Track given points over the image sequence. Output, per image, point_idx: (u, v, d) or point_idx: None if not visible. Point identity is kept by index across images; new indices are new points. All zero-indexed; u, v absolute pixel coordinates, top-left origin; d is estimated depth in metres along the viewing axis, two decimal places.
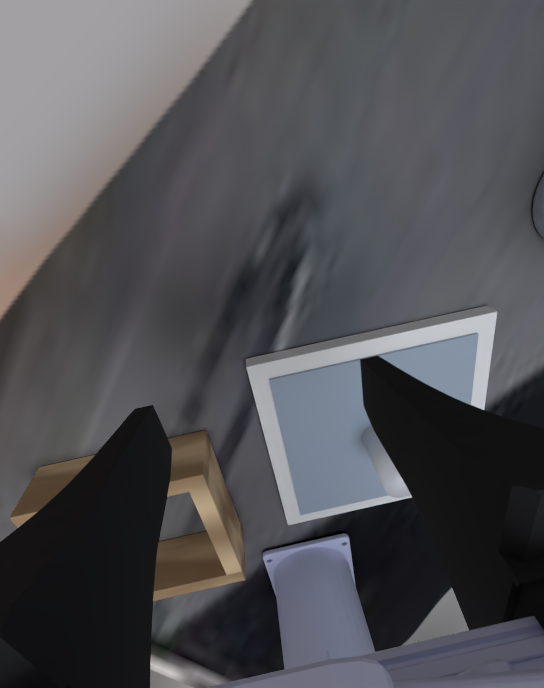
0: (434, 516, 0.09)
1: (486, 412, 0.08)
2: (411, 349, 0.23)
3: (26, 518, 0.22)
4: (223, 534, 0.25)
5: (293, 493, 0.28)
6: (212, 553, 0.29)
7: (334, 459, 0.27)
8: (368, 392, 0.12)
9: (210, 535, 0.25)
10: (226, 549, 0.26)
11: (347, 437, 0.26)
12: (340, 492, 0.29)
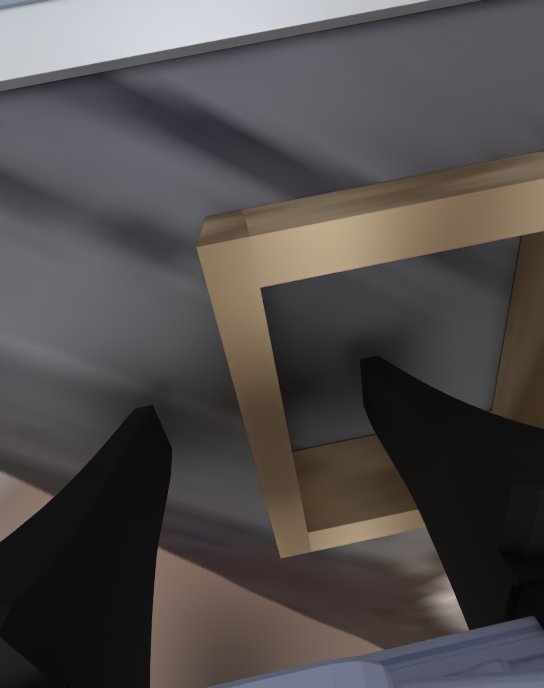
0: (434, 516, 0.09)
1: (486, 412, 0.08)
2: None
3: (286, 543, 0.13)
4: (460, 206, 0.08)
5: None
6: None
7: None
8: (368, 392, 0.12)
9: (449, 245, 0.09)
10: (533, 201, 0.08)
11: None
12: None
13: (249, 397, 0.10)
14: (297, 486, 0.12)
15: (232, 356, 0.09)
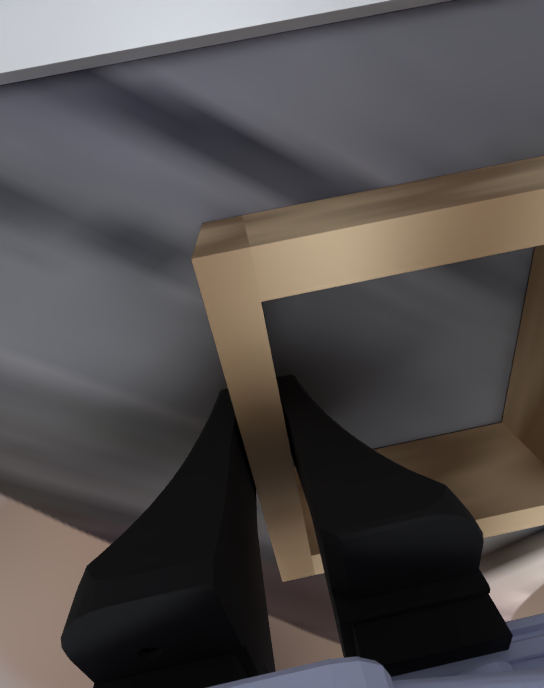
0: (318, 542, 0.09)
1: (356, 441, 0.08)
2: None
3: (288, 566, 0.13)
4: (479, 214, 0.07)
5: None
6: None
7: None
8: None
9: (466, 254, 0.08)
10: None
11: None
12: None
13: (249, 418, 0.09)
14: (300, 509, 0.11)
15: (231, 375, 0.09)
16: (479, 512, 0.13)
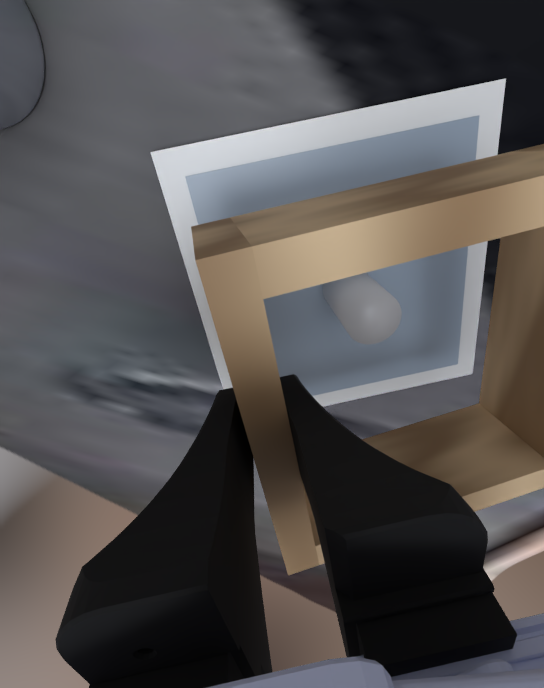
0: (320, 542, 0.09)
1: (359, 441, 0.08)
2: None
3: (294, 559, 0.13)
4: (460, 207, 0.08)
5: (418, 373, 0.23)
6: None
7: None
8: None
9: (450, 246, 0.08)
10: (527, 200, 0.08)
11: (339, 325, 0.21)
12: (434, 320, 0.21)
13: (253, 414, 0.09)
14: (304, 500, 0.12)
15: (235, 373, 0.09)
16: (467, 488, 0.14)
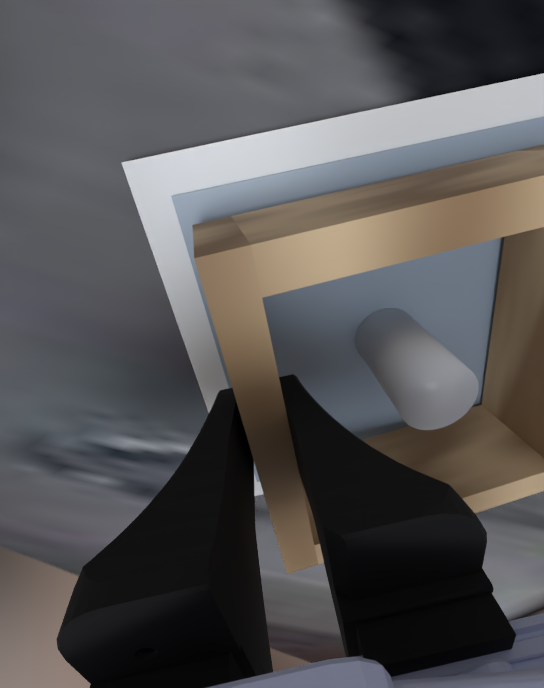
0: (320, 542, 0.09)
1: (358, 441, 0.08)
2: (209, 318, 0.14)
3: (293, 558, 0.13)
4: (461, 206, 0.08)
5: None
6: None
7: None
8: None
9: (450, 245, 0.08)
10: (529, 199, 0.08)
11: (375, 382, 0.16)
12: None
13: (252, 412, 0.10)
14: (303, 499, 0.12)
15: (234, 371, 0.09)
16: (468, 489, 0.14)
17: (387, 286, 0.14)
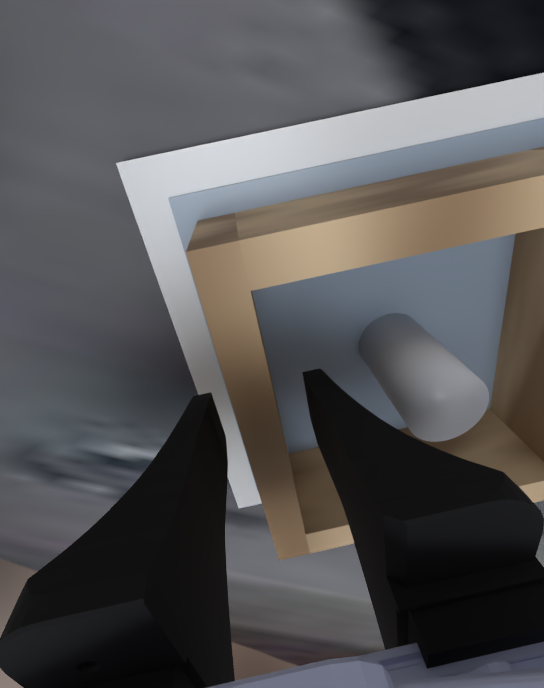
0: (356, 534, 0.09)
1: (399, 432, 0.08)
2: None
3: (284, 544, 0.13)
4: (449, 206, 0.08)
5: None
6: None
7: None
8: (309, 405, 0.12)
9: (439, 245, 0.09)
10: (522, 201, 0.08)
11: (379, 389, 0.15)
12: None
13: (243, 400, 0.10)
14: (293, 488, 0.12)
15: (224, 360, 0.09)
16: None
17: (392, 291, 0.13)
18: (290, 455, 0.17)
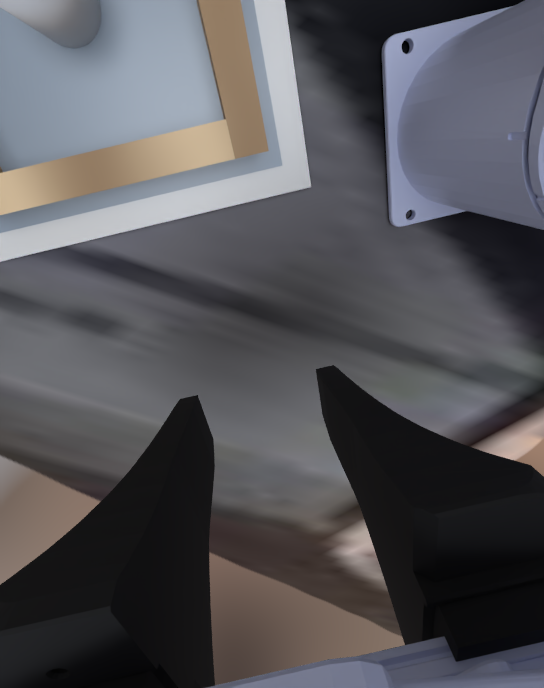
0: (374, 530, 0.09)
1: (419, 427, 0.08)
2: None
3: None
4: None
5: (229, 182, 0.17)
6: None
7: (137, 105, 0.15)
8: (323, 402, 0.12)
9: None
10: None
11: (79, 82, 0.14)
12: None
13: None
14: None
15: None
16: (126, 143, 0.12)
17: None
18: None
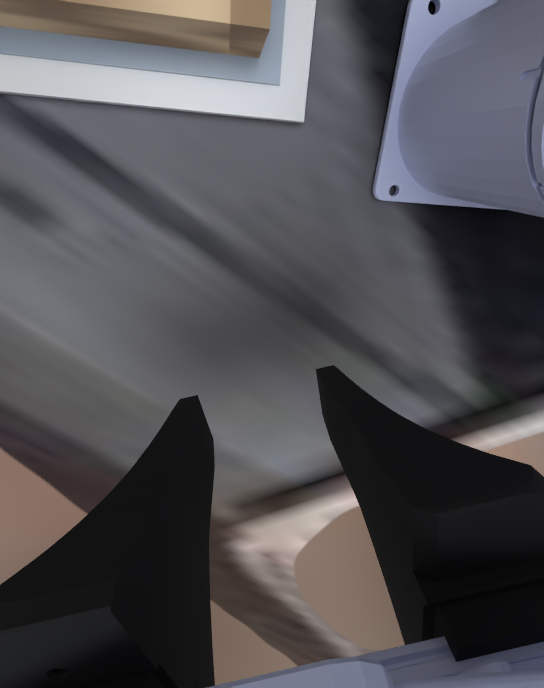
0: (374, 530, 0.09)
1: (419, 427, 0.08)
2: None
3: None
4: None
5: (218, 84, 0.15)
6: None
7: None
8: (323, 402, 0.12)
9: None
10: None
11: None
12: None
13: None
14: None
15: None
16: None
17: None
18: None
